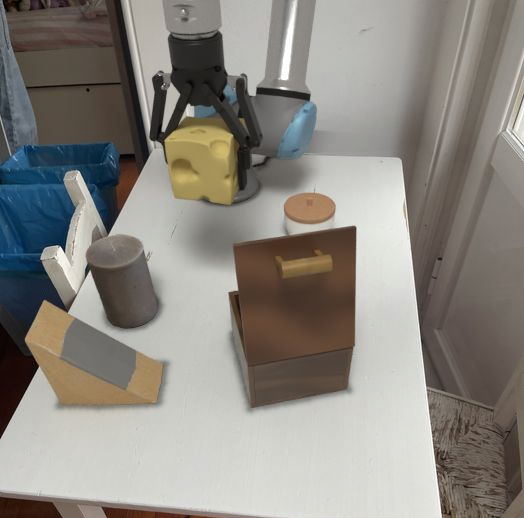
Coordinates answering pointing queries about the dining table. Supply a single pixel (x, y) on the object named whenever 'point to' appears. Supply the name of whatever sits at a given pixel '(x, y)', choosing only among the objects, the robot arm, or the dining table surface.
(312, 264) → the lid
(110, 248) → the pillar candle
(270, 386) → the bread box
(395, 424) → the dining table surface
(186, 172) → the cheese
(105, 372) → the sandwich container
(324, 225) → the trinket box
